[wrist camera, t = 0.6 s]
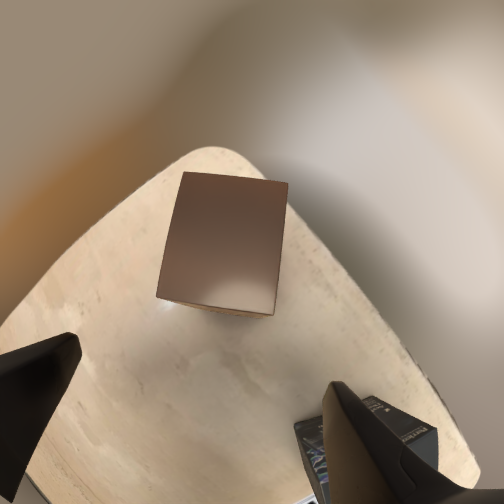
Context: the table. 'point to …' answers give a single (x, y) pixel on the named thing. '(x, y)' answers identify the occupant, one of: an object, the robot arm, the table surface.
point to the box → (402, 424)
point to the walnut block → (225, 244)
